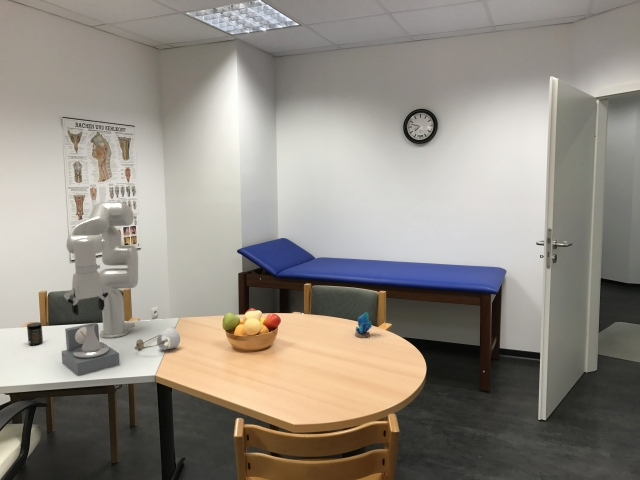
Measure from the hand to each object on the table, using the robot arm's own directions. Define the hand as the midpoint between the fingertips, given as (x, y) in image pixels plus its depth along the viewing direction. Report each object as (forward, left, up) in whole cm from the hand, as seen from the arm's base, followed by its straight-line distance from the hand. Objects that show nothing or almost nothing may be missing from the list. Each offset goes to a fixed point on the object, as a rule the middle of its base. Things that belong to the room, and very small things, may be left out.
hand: (88, 311), depth 201 cm
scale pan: (0, 0, -17) cm, 17 cm away
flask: (0, 0, -16) cm, 16 cm away
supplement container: (+9, -43, -22) cm, 49 cm away
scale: (0, -1, -22) cm, 22 cm away
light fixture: (-37, -5, -23) cm, 43 cm away
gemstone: (-106, +51, -22) cm, 120 cm away
